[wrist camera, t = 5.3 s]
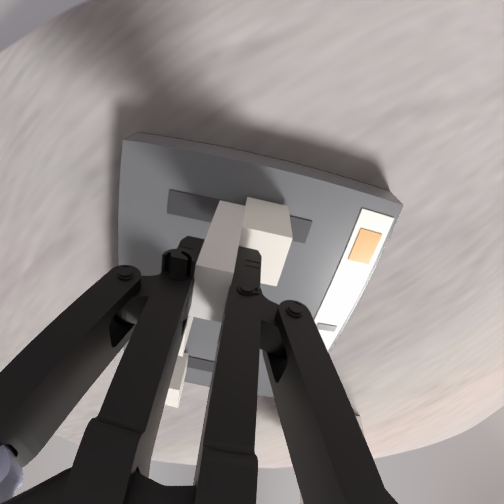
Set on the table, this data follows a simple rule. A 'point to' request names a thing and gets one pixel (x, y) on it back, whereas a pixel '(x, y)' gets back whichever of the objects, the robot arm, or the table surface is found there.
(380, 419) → the table surface
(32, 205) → the table surface
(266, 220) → the tab
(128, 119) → the table surface
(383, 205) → the switch panel
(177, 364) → the tab
